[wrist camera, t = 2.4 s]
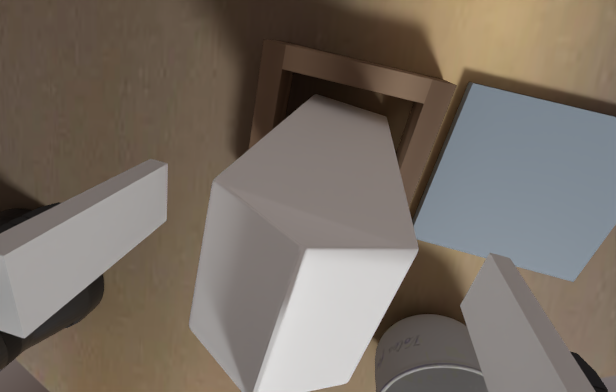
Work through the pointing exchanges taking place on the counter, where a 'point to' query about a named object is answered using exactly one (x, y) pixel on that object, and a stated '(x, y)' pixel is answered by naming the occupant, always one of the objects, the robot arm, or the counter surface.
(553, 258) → the board
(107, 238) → the robot arm
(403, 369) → the teacup
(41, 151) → the counter surface
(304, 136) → the milk
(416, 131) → the frame
